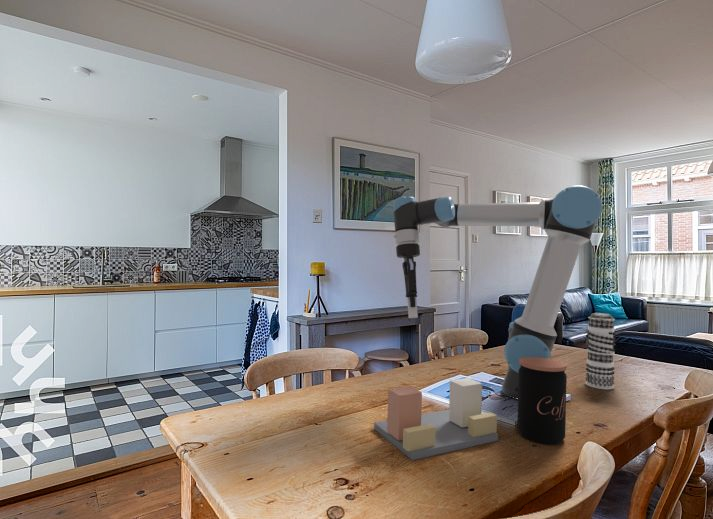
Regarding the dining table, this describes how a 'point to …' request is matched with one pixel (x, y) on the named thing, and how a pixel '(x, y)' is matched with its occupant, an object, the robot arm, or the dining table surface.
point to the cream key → (464, 400)
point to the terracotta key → (403, 410)
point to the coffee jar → (542, 400)
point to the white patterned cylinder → (600, 351)
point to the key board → (442, 434)
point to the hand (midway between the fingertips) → (413, 317)
